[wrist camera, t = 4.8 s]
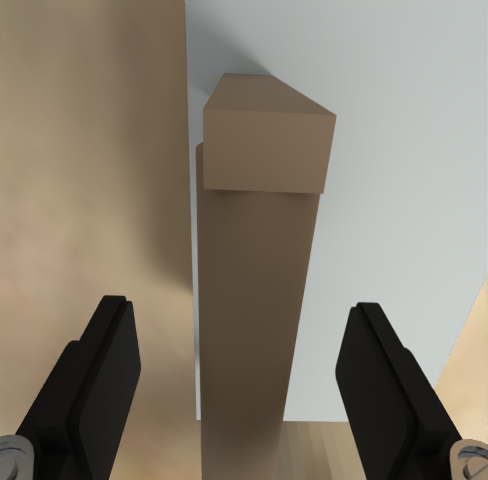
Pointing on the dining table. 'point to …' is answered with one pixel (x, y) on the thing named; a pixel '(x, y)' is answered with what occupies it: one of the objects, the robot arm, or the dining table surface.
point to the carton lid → (327, 200)
